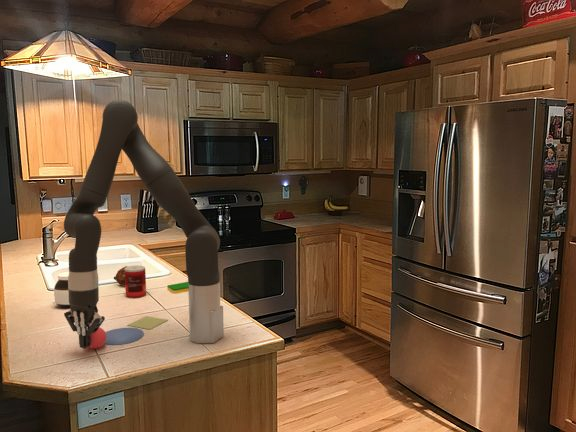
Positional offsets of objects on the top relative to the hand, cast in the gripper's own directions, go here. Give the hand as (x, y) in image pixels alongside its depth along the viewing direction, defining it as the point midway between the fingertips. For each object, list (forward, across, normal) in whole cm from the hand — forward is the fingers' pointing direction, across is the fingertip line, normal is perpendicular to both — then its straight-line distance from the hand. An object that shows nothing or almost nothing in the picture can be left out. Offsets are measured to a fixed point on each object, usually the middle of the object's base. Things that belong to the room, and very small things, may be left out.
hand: (84, 347), depth 128 cm
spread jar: (+2, +39, -30) cm, 49 cm away
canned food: (+1, +23, -48) cm, 53 cm away
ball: (-1, 0, -4) cm, 4 cm away
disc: (+1, -1, -14) cm, 14 cm away
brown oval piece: (+1, +37, -58) cm, 69 cm away
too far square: (+1, -1, -26) cm, 26 cm away
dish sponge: (+1, +10, -63) cm, 63 cm away
